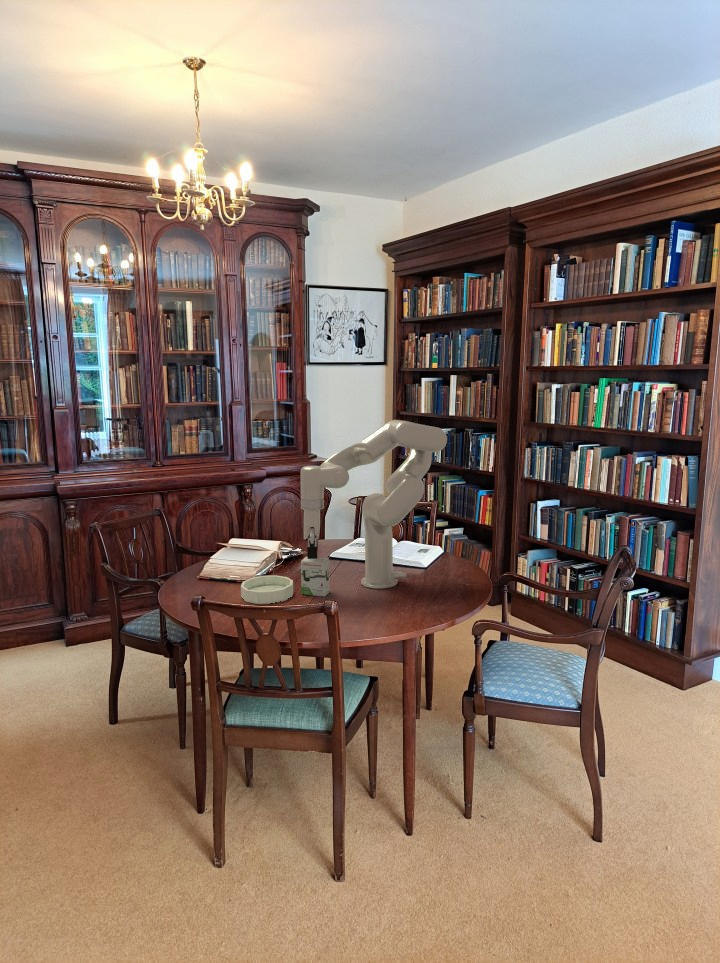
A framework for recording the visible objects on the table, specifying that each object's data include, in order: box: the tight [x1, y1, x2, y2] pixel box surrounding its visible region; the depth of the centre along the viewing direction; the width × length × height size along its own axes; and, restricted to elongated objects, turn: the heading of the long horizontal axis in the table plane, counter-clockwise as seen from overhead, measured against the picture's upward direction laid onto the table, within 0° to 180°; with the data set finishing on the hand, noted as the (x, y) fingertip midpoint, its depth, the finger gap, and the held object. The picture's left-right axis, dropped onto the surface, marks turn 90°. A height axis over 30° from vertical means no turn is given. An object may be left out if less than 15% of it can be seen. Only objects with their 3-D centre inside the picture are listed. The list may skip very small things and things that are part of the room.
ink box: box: [300, 556, 331, 597], centre depth 214 cm, size 9×5×12 cm, turn 73°
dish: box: [240, 574, 294, 605], centre depth 214 cm, size 17×17×4 cm
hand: (312, 554), depth 213 cm, fingers open, 9 cm apart
